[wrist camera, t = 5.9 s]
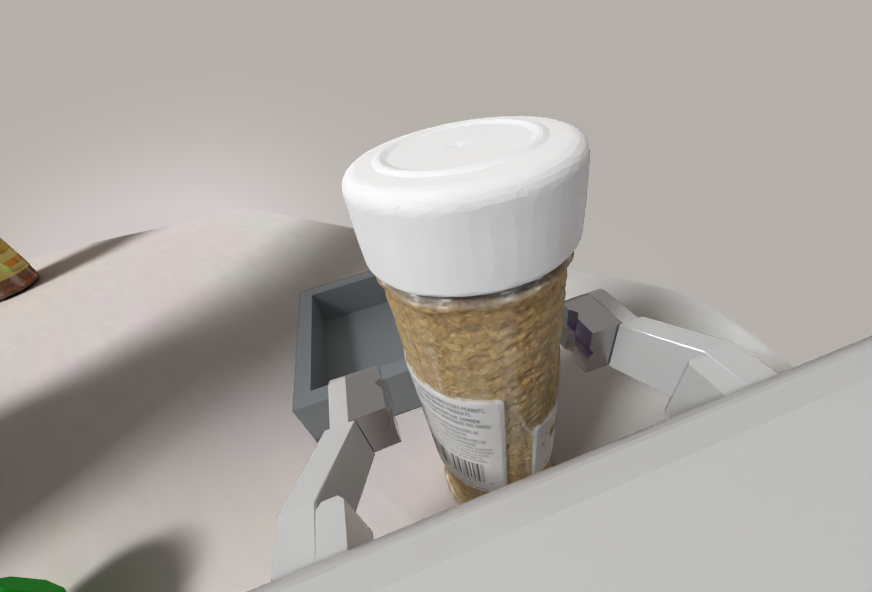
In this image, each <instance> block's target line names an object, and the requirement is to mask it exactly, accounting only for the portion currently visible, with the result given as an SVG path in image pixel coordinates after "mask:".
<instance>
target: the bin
mask: <svg viewBox="0 0 872 592" xmlns="http://www.w3.org/2000/svg"><path fill="white" fill-rule="evenodd" d="M377 365H378V366H379V367H380V370H381V372H382V376H383V380H384V381H386V383H387V386H388V389H389V391H390V395H391V398H392V402H393V406H394V411H393V414H394V416H396V415H398V414H401V413H404V412H407V411H409V410H412V409H415V408H418V407H420V406H422V405H421V403H420V400H419V397H418V394H417V391H416V388H415V385H414V383H413V380H412V377H411V375H410V372H409V369H408V366H407V363H406V359H405V354H404V347H403V345H402V342H401V338H400V334H399V332H398V328H397V325H396V323H395V318H394V315H393V313H392V311H391V308H390V305H389V303H388V301H387V298H386V293H385V289H384V288H383V287H382V286H380V285H379V283H378V281H377V279H376V276H375V275H374V274H373V273H372V272H371V271H368V272H365V273H361V274H358V275H355V276H351V277H348V278H345V279H342V280H338V281H335V282H332V283H328V284H325V285H322V286H318V287H315V288H312V289H309V290H305V291H302V292H300V304H299V319H298V334H297V350H296V365H295V380H294V395H293V412H294V414H295V415H296V416H297V417H298V419H299V420H300V421H301V422H302V424H303V425H304V426H305V427H306V429H307V430H308V431H309V432H310V434H311V435H312V436H313V437H314V439H315V440H316V441H317V442H319V440H320V438H321V437H322V435H323V433H324V431H325V430H328V429H330V420H329V393H328V385H329V381H330V380H333V379H336V378H339V377H343V376H346V375H348V374H351V373H354V372H358V371H361V370H364V369H367V368H370V367H373V366H377Z"/></svg>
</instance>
